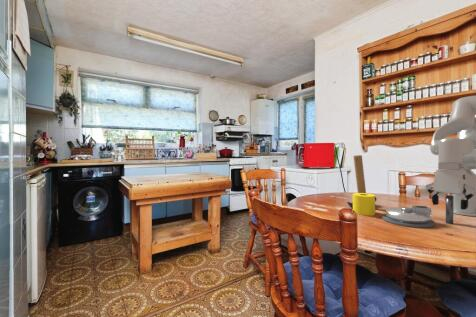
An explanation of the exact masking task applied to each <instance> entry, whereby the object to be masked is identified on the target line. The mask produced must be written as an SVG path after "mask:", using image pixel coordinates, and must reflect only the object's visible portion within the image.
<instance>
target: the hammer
mask: <svg viewBox="0 0 476 317" xmlns="http://www.w3.org/2000/svg"><path fill="white" fill-rule="evenodd" d="M352 157H353V164H354V172H355V179H356V180H355V181H356V190H357V193H367V190H366V189H367V188H366V181H365V172H364V163H363V155H361V154H356V155H353V156H352ZM376 201H377V197H376V196H375V202H376ZM346 203H347V204H348V207H349V208H351V209H353V202H350V201H349V202H348V201H346Z"/></svg>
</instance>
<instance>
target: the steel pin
mask: <svg viewBox="0 0 476 317" xmlns="http://www.w3.org/2000/svg"><path fill="white" fill-rule="evenodd" d="M453 212H454V196H452V194H450V195H449V194H445V224H446V225H447V224H448V225H454V213H453Z"/></svg>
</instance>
